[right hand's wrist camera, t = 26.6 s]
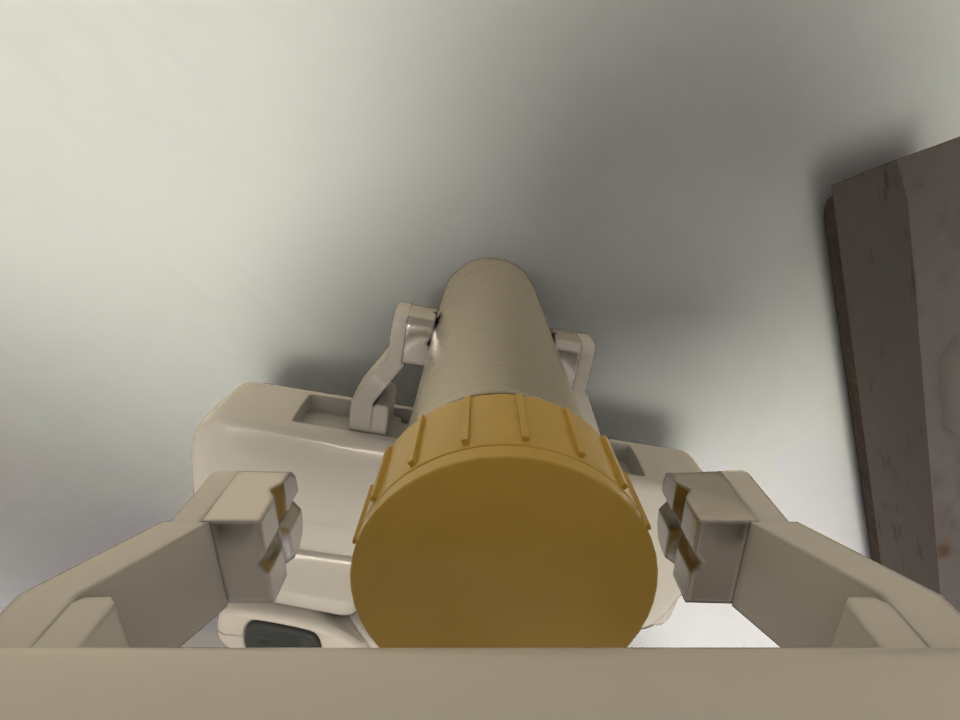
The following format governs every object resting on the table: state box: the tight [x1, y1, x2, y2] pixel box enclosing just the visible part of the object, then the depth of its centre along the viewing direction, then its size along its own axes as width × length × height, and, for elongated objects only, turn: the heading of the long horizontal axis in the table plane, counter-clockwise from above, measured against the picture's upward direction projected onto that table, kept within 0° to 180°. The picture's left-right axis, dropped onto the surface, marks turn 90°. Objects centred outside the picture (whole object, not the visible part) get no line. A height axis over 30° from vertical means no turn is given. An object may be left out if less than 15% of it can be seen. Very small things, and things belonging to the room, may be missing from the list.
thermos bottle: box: [408, 258, 584, 428], centre depth 17 cm, size 4×4×16 cm
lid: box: [350, 393, 658, 648], centre depth 10 cm, size 5×5×2 cm
